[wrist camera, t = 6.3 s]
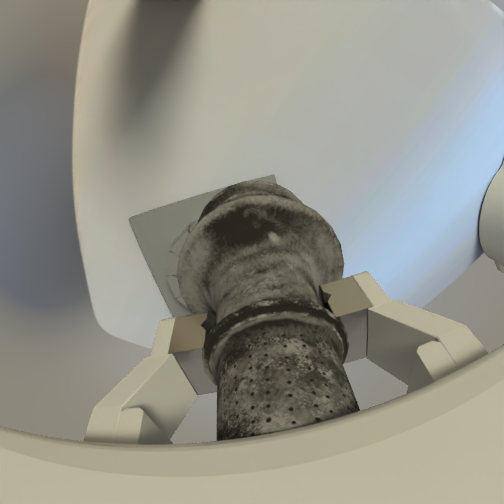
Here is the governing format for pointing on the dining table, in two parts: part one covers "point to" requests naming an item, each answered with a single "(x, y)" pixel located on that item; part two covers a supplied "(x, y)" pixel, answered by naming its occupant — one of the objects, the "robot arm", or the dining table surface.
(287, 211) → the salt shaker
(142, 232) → the board
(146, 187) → the dining table surface
